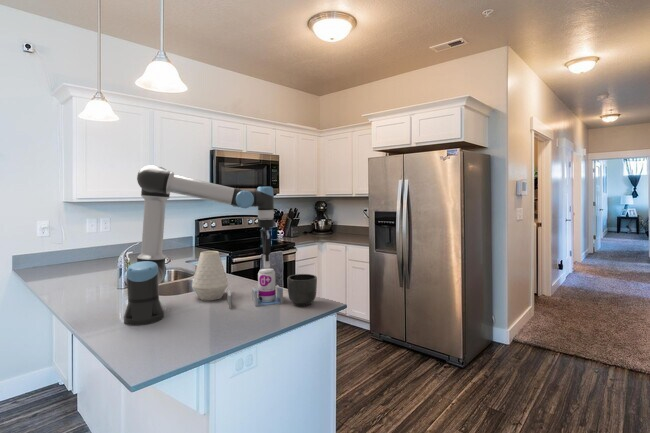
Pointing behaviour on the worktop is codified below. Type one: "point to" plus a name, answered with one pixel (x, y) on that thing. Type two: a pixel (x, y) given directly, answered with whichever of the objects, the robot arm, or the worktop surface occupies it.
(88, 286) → the worktop surface
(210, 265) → the vase
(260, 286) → the supplement can
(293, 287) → the planter
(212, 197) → the robot arm
